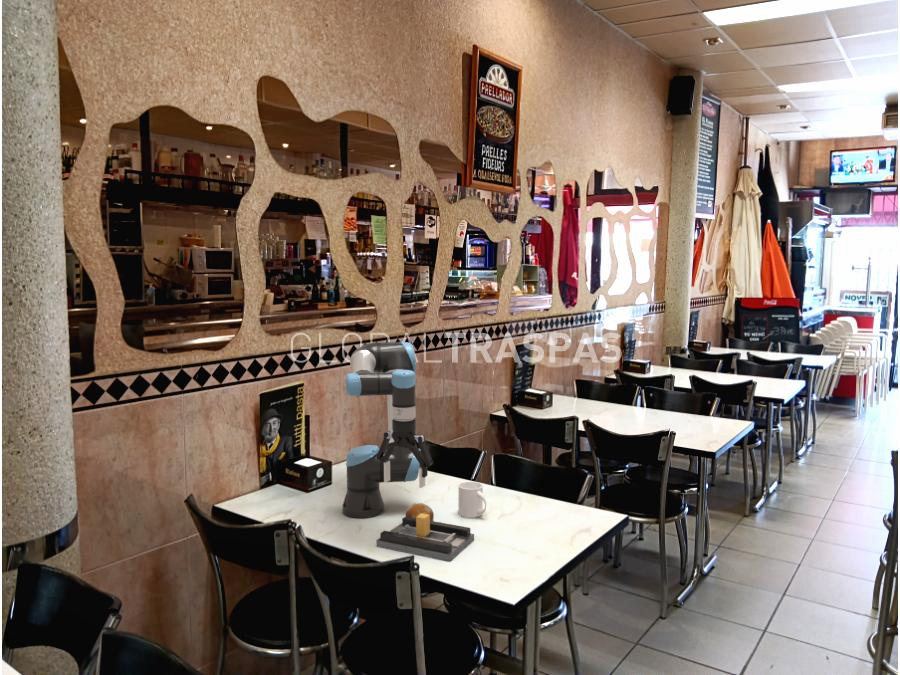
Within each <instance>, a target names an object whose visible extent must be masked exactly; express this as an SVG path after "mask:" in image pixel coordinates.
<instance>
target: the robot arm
mask: <svg viewBox="0 0 900 675" xmlns="http://www.w3.org/2000/svg"><path fill="white" fill-rule="evenodd" d="M349 363H350V368H351V370H352V372H351V373H347V374H345V375H346V377H345V379H346V380H345V385H346V386H345V387H346V388H345V390H346V395H347V396H348V397H349V396H350V397H367V396H368V397H369V396H386V400H387V431H385V432H384V433H383V439H382V442H381V444H380V447H379V446H378V445H373V444H367V445H366V444H365V445H360V446H357V447H354V448H352V449H350V450H349V451H347V454H346V463H345V465H346V493H345V496H344V500H343V502H342V509H341V510H342V514H343V515H345V516H346V517H348V518H349V517H350V518H355V519H366V518H367V519H368V518H373V517H376V516H380V515H382V514H383V513H384V512H385V501H384V500H383V496H382V493H381V490H380V484H381V483H407V482H414V481H416V480H418V483H419V484H418V488H419V489H421V488H424V487H425V486H426V477H428V467H431V466H432V465H433V464H434V461H433V459H432V457H431V453H430V450H429V448H428V446H427V443H426V438H425V437H426V436H425V435H424V434H422V435H416V434H417V433H416V430H417V425H416V423H417V422H416V419H415V418H416V414H417V413H416V412H417V411H416V410H417V409H416V383H417V382H416V373H415V372H416V371H417V361H416V352H415V349H414V346H413V344H412V343H411V342H406V341H405V342H404V341H398V342H397V341H395V342H394V341H391V342H390V341H387V342H368V343H366V344H363V345H361V346H359V347H358V348H357V349H355V350H354V352H352V354H351V356H350V360H349ZM417 444H418V445H417Z"/></svg>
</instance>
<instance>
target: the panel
mask: <svg viewBox="0 0 900 675" xmlns="http://www.w3.org/2000/svg"><path fill="white" fill-rule="evenodd" d="M379 536H380V537H379V538H378V539H376V547H378V548H383V549H387V550H388V549H389V550H392V551H398V552H403V553H409V554H413V555H416V556H417V555H418V556H422V557H428V558H431V557H432V558H433V559H437V560H442V561H447V562H451V561H452V560H453V559H455V558H456V557H457V556H458V555H460V553H462V551H464V550H465V549H466V548H467V547H468V546H469V545H471V544H472V543H473V542H474V541H475V533H472V532H471V527H468V526H462V525H456V524H451V523H446V522H445V523H444V522H441V521H440V522H439V521H434V520H433V521H430V535H429V536H428V537H427V538H425V537H420V536H416V518H413V517H407V516H406V515H405V516H404V517H402V520H401V523H400V524H398V525H397V526H395V527H394V528H392V529H391V530H390V531H388V530H383V531H382V532H380V535H379Z"/></svg>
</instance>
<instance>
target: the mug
mask: <svg viewBox="0 0 900 675" xmlns="http://www.w3.org/2000/svg"><path fill="white" fill-rule="evenodd" d="M483 492H484V490H483V483H481V482H477V481H463V482H460V483H459V484H458V514H459V516H460V517H462V518H465V519H476V517H477V518H480V517H481V516H482V515H483V514H484V513H485V512H486V510H487V509H486V508H487V500H486V497H485V495H484V494H483ZM483 504H484V508H483Z"/></svg>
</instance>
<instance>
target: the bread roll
mask: <svg viewBox="0 0 900 675" xmlns="http://www.w3.org/2000/svg"><path fill="white" fill-rule="evenodd" d="M421 513H422V514H428V515H430V521H434V516H435V514H434V510H433V509H432V507H430V506H429V505H427V504H425V503H421V502H420V503H419V502H417V503H413V504H412V505H411V506H410V507H409V508H408V509H406V511H405V516H407V517H413V518H416V517H417V516H418V515H420V514H421Z"/></svg>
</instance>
